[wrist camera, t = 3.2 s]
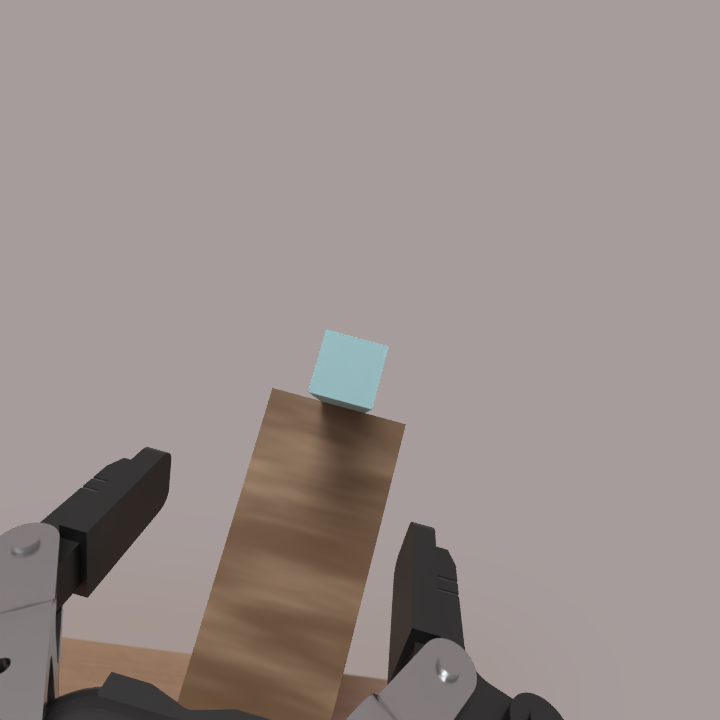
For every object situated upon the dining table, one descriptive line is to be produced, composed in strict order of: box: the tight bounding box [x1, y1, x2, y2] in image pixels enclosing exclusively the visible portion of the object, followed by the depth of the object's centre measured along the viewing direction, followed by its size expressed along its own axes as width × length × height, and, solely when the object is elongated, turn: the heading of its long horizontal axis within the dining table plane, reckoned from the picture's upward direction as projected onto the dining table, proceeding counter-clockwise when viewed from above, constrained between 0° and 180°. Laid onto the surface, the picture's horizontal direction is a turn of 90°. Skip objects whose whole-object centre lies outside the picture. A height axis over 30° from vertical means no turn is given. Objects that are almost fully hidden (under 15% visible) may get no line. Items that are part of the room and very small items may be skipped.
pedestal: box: [177, 388, 405, 720], centre depth 36 cm, size 16×10×32 cm, turn 0°
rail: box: [308, 330, 388, 413], centre depth 33 cm, size 26×3×3 cm, turn 1°
